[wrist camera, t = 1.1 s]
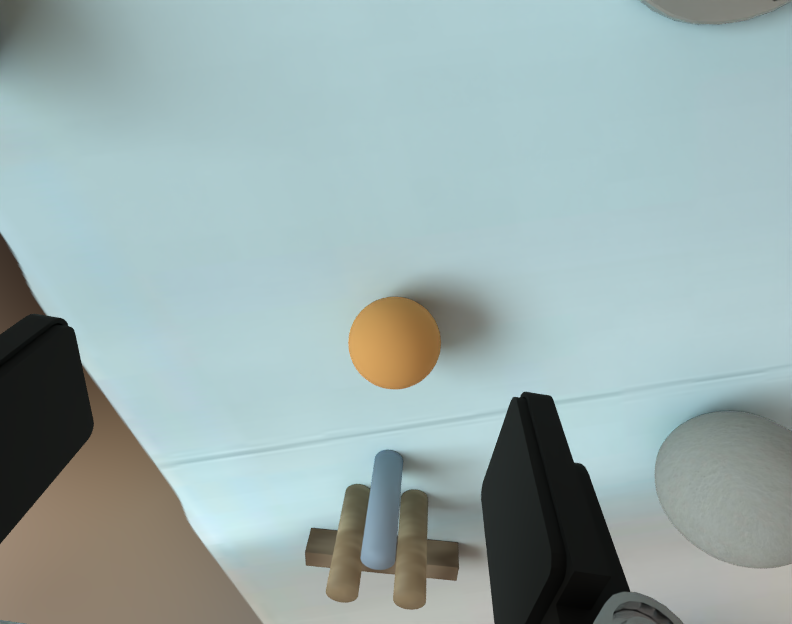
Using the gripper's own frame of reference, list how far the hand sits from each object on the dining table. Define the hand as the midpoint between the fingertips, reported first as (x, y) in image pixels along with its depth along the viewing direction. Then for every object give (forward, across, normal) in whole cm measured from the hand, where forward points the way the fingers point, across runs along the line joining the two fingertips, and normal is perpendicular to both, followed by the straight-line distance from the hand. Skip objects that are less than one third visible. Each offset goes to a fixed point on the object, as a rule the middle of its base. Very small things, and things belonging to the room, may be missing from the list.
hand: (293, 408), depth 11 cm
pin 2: (+22, -7, +28) cm, 37 cm away
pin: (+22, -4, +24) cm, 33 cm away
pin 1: (+22, -2, +29) cm, 36 cm away
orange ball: (+19, -2, +10) cm, 22 cm away
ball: (+22, -27, +16) cm, 38 cm away
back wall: (+22, -5, +35) cm, 42 cm away
